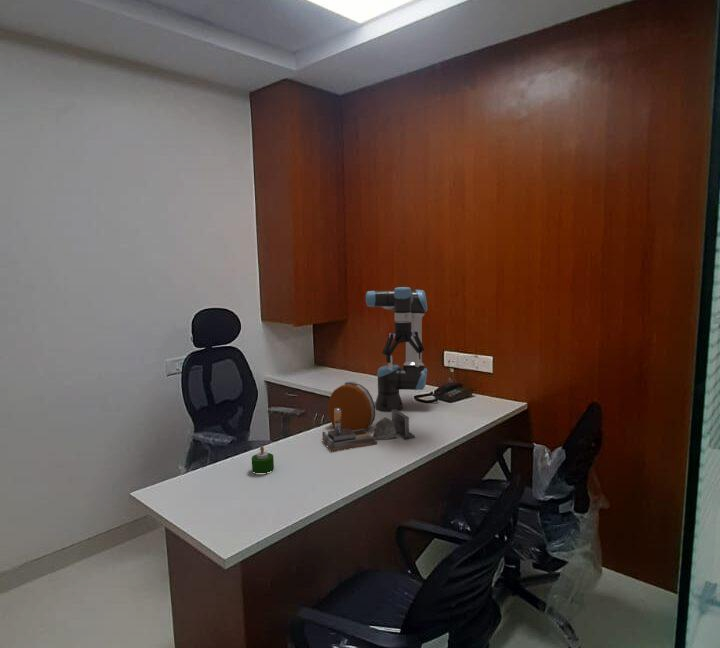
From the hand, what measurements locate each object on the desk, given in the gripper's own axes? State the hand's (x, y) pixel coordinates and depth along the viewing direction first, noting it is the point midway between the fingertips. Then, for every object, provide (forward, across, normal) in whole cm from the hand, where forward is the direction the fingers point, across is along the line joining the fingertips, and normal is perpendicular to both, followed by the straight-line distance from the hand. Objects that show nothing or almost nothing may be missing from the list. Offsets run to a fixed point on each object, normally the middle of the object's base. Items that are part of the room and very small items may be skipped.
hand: (403, 368), depth 220 cm
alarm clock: (+31, -17, +21) cm, 42 cm away
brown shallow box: (+31, -27, +2) cm, 41 cm away
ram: (+30, -30, +2) cm, 42 cm away
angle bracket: (+31, 0, +1) cm, 31 cm away
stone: (+31, -9, +1) cm, 33 cm away
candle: (+31, -68, -10) cm, 75 cm away
